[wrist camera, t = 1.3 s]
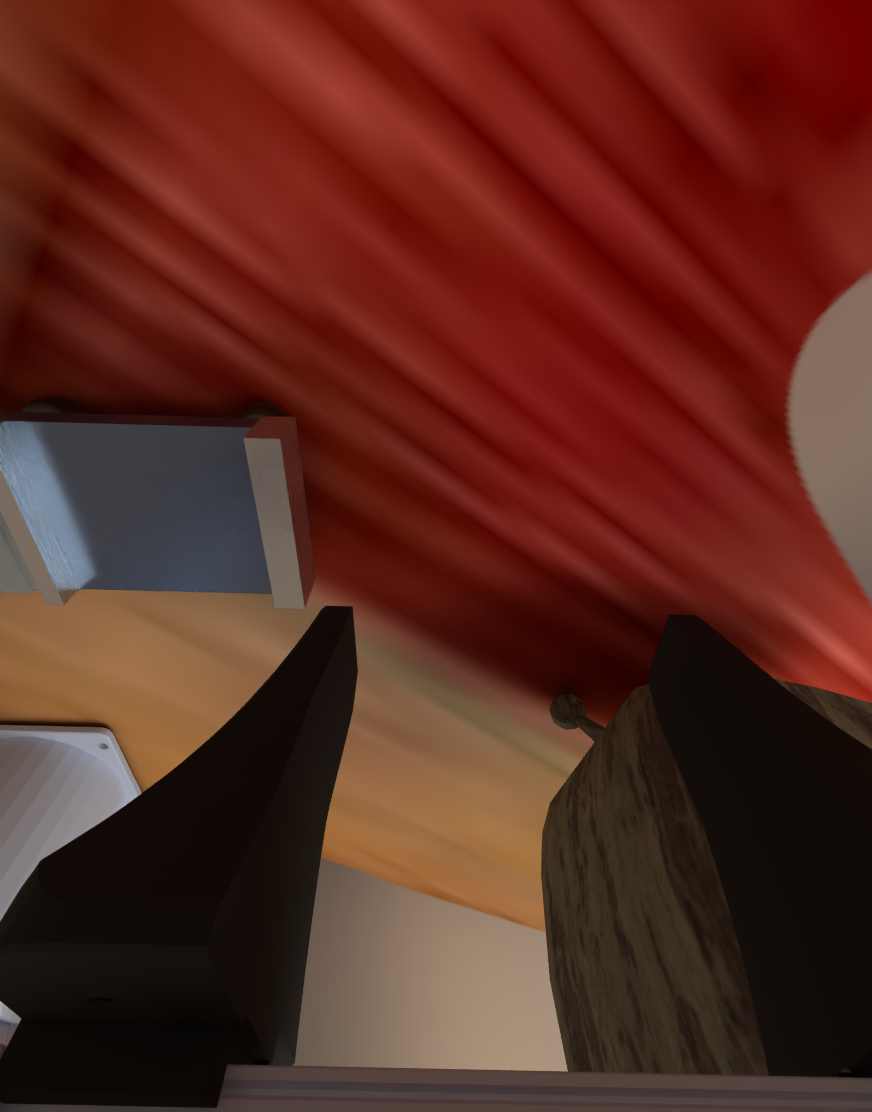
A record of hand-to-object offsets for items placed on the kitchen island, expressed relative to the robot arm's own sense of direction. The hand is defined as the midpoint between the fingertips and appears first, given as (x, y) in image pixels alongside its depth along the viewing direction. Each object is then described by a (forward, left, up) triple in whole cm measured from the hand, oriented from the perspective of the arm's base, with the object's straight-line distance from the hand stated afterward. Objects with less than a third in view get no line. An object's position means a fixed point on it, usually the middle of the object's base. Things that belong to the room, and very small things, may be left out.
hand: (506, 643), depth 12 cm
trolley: (0, +11, -8) cm, 13 cm away
